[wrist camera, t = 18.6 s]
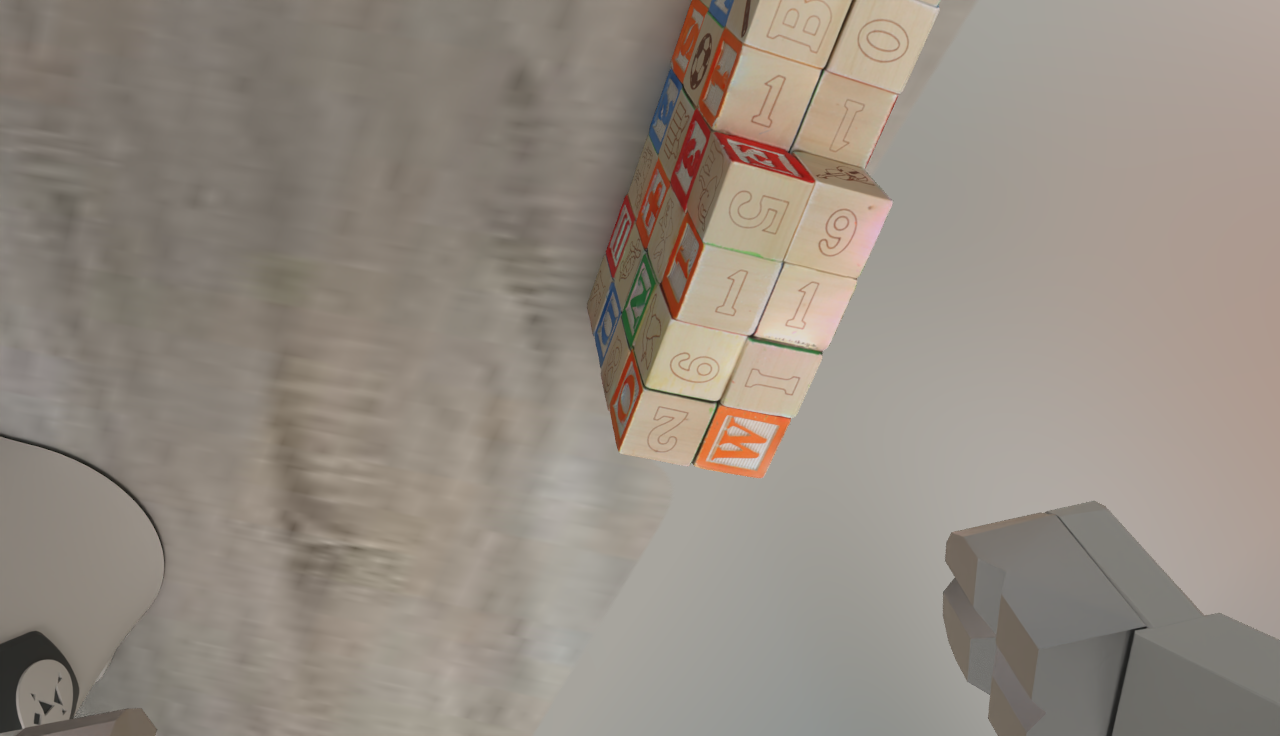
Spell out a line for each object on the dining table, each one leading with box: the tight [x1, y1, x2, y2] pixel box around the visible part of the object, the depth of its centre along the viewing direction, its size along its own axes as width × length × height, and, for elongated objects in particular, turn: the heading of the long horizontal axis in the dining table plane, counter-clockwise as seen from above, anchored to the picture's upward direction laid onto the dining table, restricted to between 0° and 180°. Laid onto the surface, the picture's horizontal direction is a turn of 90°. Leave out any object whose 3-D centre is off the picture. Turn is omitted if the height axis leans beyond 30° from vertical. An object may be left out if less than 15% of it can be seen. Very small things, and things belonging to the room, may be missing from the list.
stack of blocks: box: [587, 0, 941, 478], centre depth 37 cm, size 21×6×12 cm, turn 161°
